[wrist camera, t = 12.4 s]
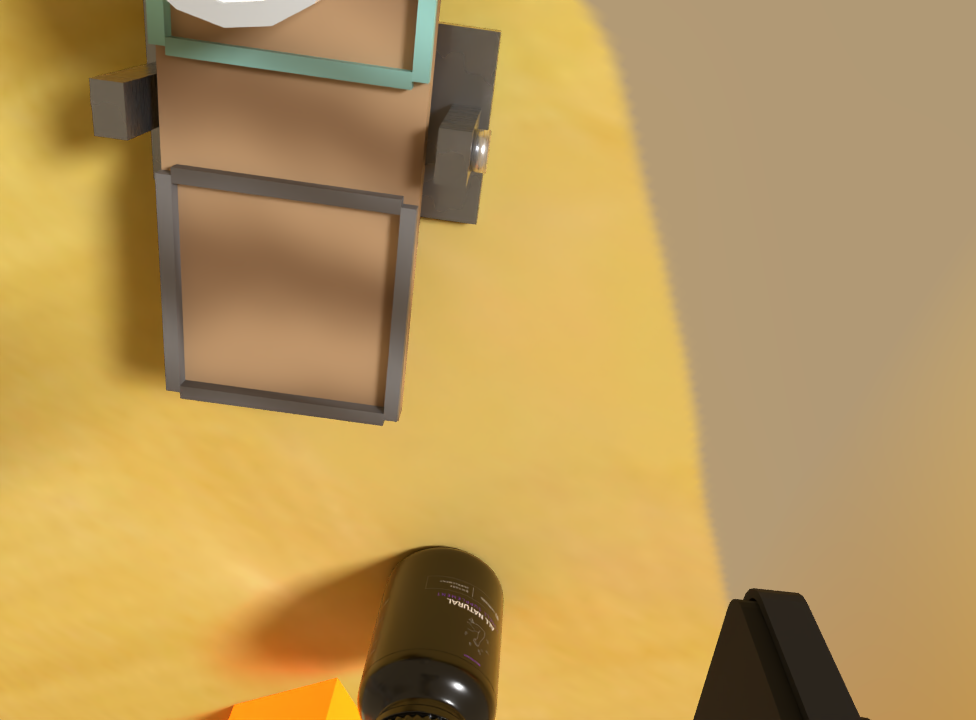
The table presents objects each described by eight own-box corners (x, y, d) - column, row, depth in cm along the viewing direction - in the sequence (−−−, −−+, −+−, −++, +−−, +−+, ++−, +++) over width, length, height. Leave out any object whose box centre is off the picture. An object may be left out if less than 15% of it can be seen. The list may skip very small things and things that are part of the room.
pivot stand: (481, 219, 36) (472, 267, 30) (156, 174, 36) (85, 213, 30) (506, 31, 32) (501, 45, 27) (145, -21, 32) (63, -18, 27)
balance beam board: (401, 409, 36) (396, 427, 34) (181, 379, 36) (166, 396, 34) (463, -238, 25) (459, -251, 24) (152, -284, 25) (130, -300, 24)
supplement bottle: (507, 546, 44) (499, 731, 34) (500, 636, 47) (491, 833, 37) (384, 537, 44) (337, 719, 34) (385, 628, 47) (342, 821, 37)
